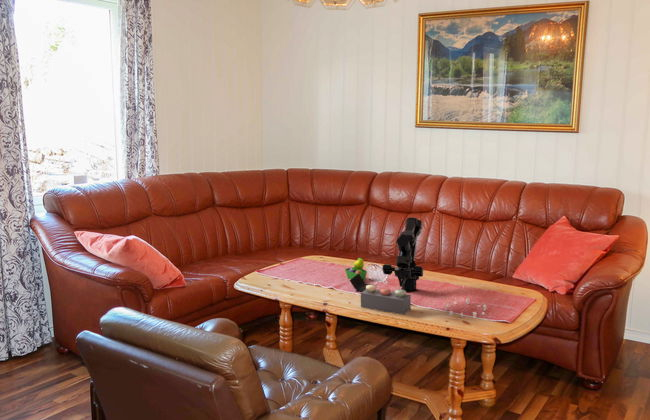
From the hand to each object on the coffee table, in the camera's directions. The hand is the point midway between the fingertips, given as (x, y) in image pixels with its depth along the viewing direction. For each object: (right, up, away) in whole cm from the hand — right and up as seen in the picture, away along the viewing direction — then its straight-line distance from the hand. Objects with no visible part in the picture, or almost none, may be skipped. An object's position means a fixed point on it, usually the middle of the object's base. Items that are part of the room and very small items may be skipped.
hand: (400, 286), depth 269 cm
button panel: (-7, -11, +4) cm, 13 cm away
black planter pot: (-15, -6, +33) cm, 37 cm away
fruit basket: (-18, -3, +49) cm, 52 cm away
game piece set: (+30, -12, -1) cm, 32 cm away
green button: (0, -6, -1) cm, 6 cm away
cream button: (-13, -5, +7) cm, 16 cm away
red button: (-7, -6, +3) cm, 10 cm away
